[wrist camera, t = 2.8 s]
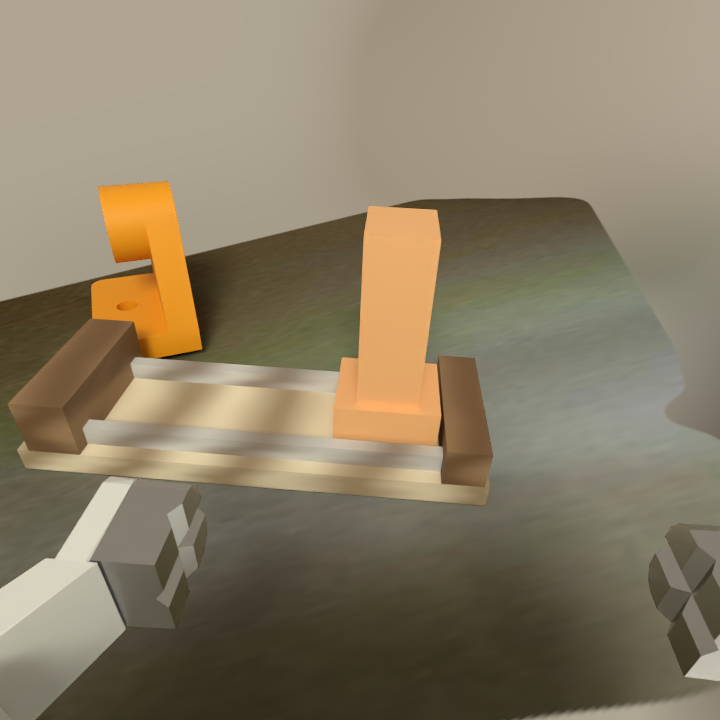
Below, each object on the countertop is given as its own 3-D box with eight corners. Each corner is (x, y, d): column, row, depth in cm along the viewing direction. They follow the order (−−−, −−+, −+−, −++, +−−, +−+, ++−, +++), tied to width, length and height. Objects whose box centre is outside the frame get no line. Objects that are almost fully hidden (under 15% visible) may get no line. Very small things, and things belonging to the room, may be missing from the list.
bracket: (99, 308, 46) (59, 169, 39) (183, 295, 49) (159, 162, 42) (102, 377, 38) (53, 218, 31) (203, 358, 41) (178, 206, 34)
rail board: (25, 468, 31) (-6, 402, 28) (98, 376, 38) (80, 317, 35) (485, 505, 30) (502, 442, 27) (469, 404, 37) (481, 346, 34)
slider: (332, 447, 31) (335, 237, 23) (341, 393, 35) (345, 201, 27) (434, 454, 31) (470, 246, 23) (431, 400, 35) (460, 208, 27)
